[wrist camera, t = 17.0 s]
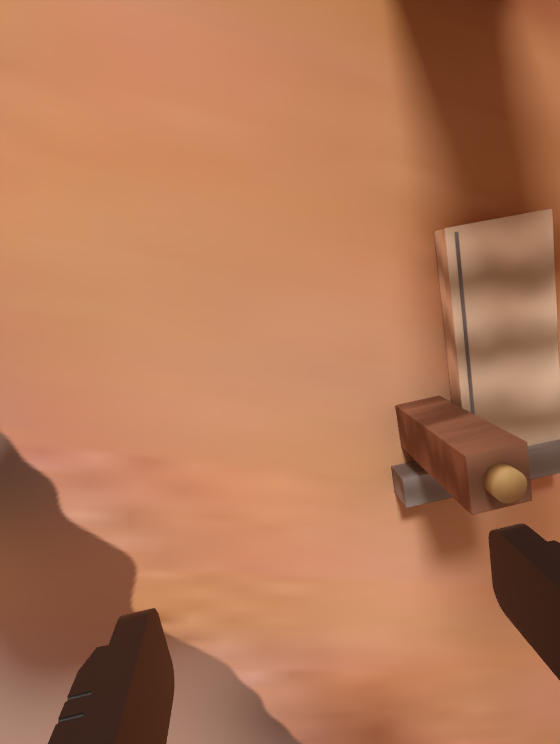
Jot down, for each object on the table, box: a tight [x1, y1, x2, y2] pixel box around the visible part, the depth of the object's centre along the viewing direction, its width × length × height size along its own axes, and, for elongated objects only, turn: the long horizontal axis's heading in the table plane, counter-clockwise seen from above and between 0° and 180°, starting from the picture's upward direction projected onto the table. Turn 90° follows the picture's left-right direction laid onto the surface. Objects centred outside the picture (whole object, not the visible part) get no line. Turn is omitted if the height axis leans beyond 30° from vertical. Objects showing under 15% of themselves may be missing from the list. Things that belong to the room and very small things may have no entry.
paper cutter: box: [391, 208, 560, 508], centre depth 40 cm, size 25×17×3 cm
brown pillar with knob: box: [395, 396, 532, 515], centre depth 35 cm, size 4×4×14 cm
